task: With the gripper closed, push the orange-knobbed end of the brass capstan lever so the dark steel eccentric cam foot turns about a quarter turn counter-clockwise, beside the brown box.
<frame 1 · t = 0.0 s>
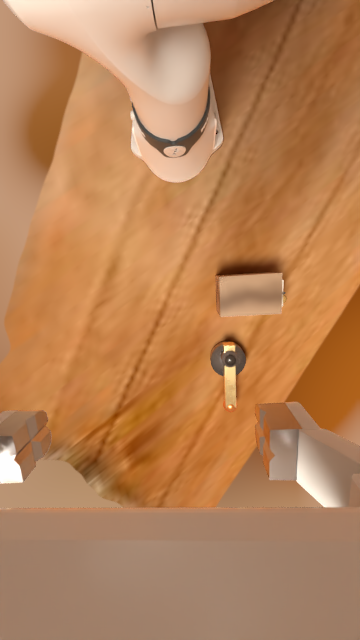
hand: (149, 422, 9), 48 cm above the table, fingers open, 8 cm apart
cam capstan: (229, 377, 56), point 3 cm above the table, hinge at 0.0°
brown box: (242, 291, 55), on the table
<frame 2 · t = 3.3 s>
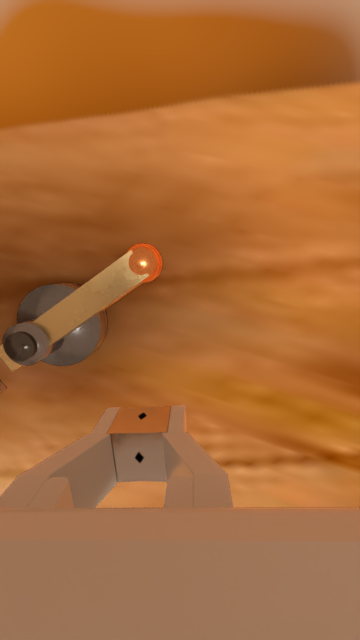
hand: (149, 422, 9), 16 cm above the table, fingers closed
cam capstan: (85, 305, 22), point 3 cm above the table, hinge at 0.0°
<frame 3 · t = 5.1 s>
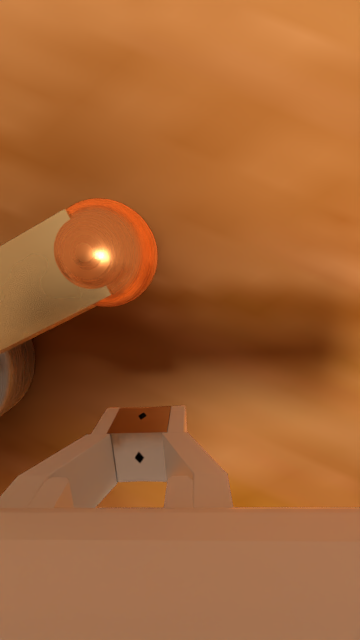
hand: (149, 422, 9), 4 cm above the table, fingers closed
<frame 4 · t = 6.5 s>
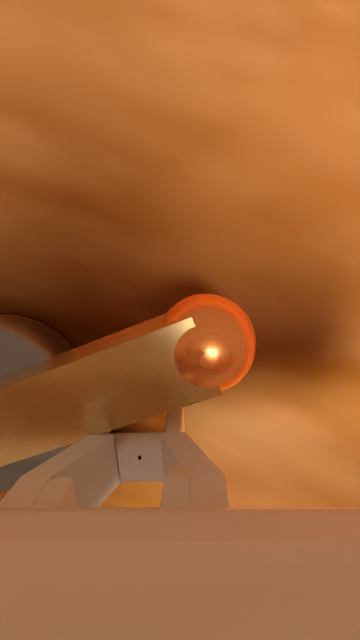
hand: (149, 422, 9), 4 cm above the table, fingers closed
cam capstan: (42, 395, 9), point 3 cm above the table, hinge at 0.1°, touching gripper
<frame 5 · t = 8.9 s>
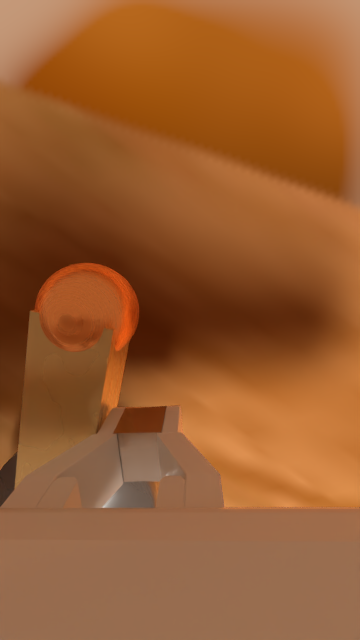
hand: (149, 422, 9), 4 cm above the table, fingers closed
cam capstan: (74, 461, 10), point 3 cm above the table, hinge at 66.6°, touching gripper
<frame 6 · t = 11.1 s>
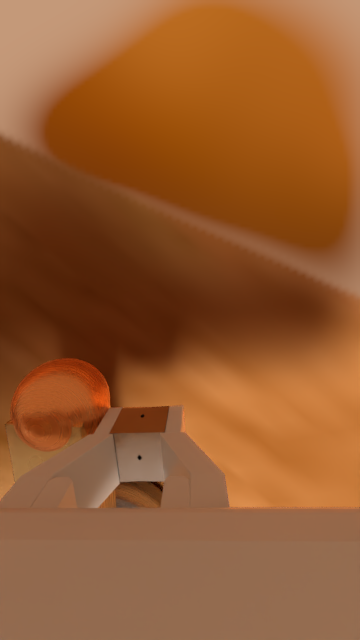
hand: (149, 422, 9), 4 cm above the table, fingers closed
cam capstan: (86, 530, 11), point 3 cm above the table, hinge at 84.0°, touching gripper
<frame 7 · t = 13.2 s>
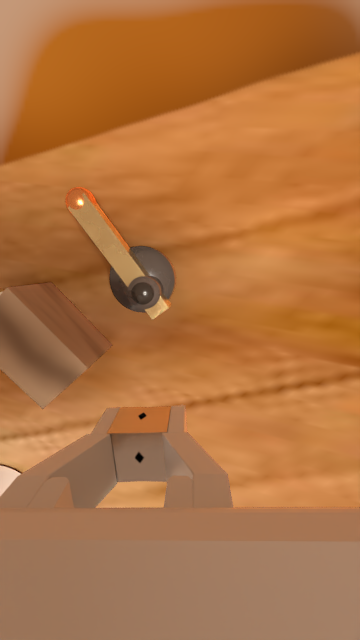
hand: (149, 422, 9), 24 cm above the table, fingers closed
cam capstan: (120, 254, 28), point 3 cm above the table, hinge at 84.0°
brown box: (64, 332, 35), on the table
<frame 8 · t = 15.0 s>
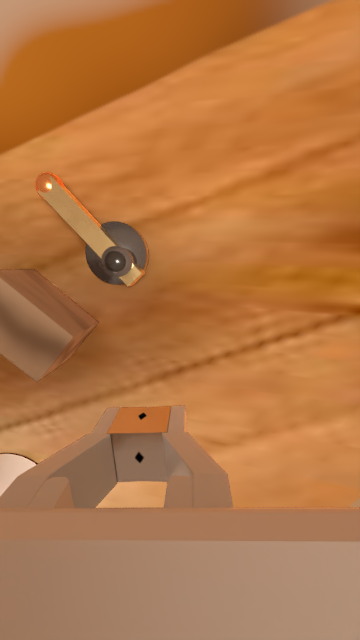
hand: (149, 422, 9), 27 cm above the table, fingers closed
cam capstan: (92, 230, 31), point 3 cm above the table, hinge at 84.0°
brown box: (52, 315, 37), on the table
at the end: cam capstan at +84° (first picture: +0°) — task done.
